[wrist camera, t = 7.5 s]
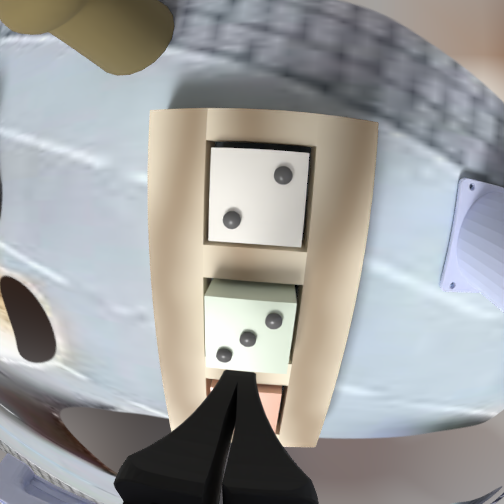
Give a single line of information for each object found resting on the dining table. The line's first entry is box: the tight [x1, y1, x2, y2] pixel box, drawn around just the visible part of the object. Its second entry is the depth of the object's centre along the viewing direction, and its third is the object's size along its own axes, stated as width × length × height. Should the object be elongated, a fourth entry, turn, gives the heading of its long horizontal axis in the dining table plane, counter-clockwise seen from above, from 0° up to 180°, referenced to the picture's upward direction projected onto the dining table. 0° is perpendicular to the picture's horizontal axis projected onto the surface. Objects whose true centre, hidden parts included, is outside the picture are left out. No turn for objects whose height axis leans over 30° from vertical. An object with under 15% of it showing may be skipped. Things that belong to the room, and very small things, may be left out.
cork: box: [0, 0, 174, 75], centre depth 10 cm, size 6×6×11 cm
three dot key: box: [204, 278, 297, 374], centre depth 18 cm, size 5×5×3 cm
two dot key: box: [208, 147, 309, 247], centre depth 17 cm, size 5×5×3 cm
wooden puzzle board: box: [148, 108, 378, 447], centre depth 19 cm, size 12×24×2 cm, turn 177°
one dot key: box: [210, 379, 282, 432], centre depth 21 cm, size 5×5×3 cm
